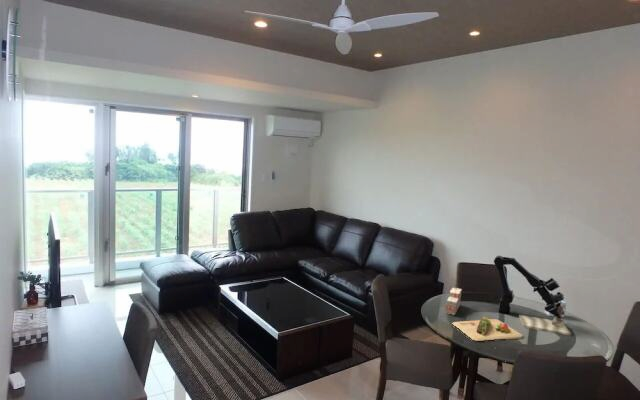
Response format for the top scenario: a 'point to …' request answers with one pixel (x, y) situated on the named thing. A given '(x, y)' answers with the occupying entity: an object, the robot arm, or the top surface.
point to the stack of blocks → (453, 301)
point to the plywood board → (542, 325)
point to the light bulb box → (563, 304)
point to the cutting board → (487, 329)
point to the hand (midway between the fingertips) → (562, 316)
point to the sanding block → (557, 320)
